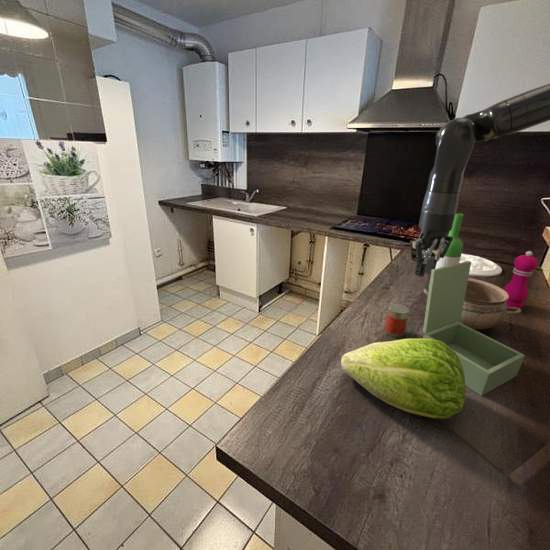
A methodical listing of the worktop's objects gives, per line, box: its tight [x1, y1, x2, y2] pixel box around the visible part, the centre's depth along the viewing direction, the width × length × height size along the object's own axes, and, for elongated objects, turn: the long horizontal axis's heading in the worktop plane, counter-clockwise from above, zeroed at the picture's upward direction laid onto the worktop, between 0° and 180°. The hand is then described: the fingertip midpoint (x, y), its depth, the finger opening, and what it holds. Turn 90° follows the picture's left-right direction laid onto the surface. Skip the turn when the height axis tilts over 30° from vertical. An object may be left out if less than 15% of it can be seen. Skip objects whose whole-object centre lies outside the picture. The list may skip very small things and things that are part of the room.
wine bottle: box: [428, 212, 464, 286], centre depth 106 cm, size 8×8×30 cm
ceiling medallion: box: [459, 253, 503, 278], centre depth 138 cm, size 28×28×3 cm
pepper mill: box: [502, 250, 539, 310], centre depth 98 cm, size 7×7×20 cm
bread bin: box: [422, 322, 526, 396], centre depth 71 cm, size 16×14×7 cm
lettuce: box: [340, 337, 467, 420], centre depth 63 cm, size 15×24×16 cm
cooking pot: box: [423, 277, 522, 331], centre depth 89 cm, size 25×19×12 cm
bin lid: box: [422, 261, 471, 335], centre depth 74 cm, size 17×14×1 cm
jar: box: [384, 303, 410, 339], centre depth 84 cm, size 6×6×9 cm
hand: (424, 274), depth 78 cm, fingers open, 3 cm apart
